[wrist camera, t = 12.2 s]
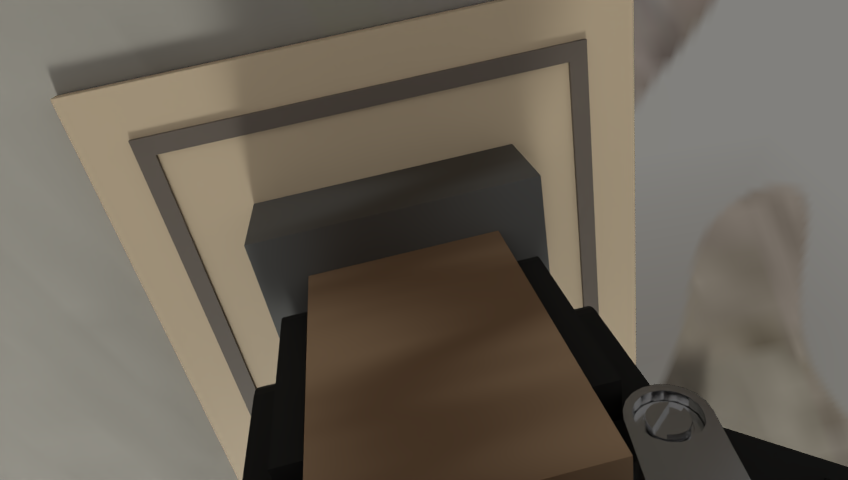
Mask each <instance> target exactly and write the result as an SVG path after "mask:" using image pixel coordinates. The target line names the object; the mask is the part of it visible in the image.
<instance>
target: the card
mask: <svg viewBox="0 0 848 480" xmlns="http://www.w3.org/2000/svg"><path fill="white" fill-rule="evenodd" d="M50 100H51V102H52V104H53V106H54V108H55V110H56V112H57V114H58V116H59V118H60V120H61V122H62V124H63V126H64V128H65V130H66V132H67V134H68V136H69V139H70V141H71V143H72V145H73V147H74V149H75V151H76V153H77V155H78V157H79V159H80V161H81V163H82V165H83V167H84V169H85V171H86V173H87V175H88V177H89V179H90V181H91V183H92V185H93V187H94V189H95V191H96V193H97V195H98V197H99V199H100V201H101V203H102V205H103V207H104V209H105V211H106V213H107V215H108V217H109V219H110V221H111V223H112V225H113V227H114V229H115V231H116V233H117V235H118V237H119V239H120V241H121V243H122V245H123V247H124V250H125V252H126V254H127V256H128V258H129V260H130V262H131V264H132V266H133V268H134V270H135V272H136V274H137V276H138V278H139V280H140V282H141V284H142V286H143V288H144V290H145V292H146V294H147V296H148V298H149V300H150V302H151V304H152V306H153V308H154V310H155V312H156V314H157V316H158V318H159V320H160V322H161V324H162V326H163V328H164V330H165V332H166V334H167V336H168V338H169V340H170V342H171V344H172V346H173V348H174V350H175V352H176V354H177V356H178V359H179V361H180V363H181V365H182V367H183V369H184V371H185V373H186V375H187V377H188V379H189V381H190V383H191V385H192V387H193V389H194V391H195V393H196V395H197V397H198V399H199V401H200V403H201V405H202V407H203V409H204V411H205V413H206V415H207V417H208V419H209V421H210V423H211V425H212V427H213V429H214V431H215V433H216V435H217V437H218V439H219V441H220V443H221V445H222V447H223V449H224V451H225V453H226V455H227V457H228V459H229V461H230V463H231V465H232V467H233V470H234V472H235V474H236V476H237V478H238V480H242V479H243V471H244V464H245V457H246V449H247V442H248V435H249V427H250V420H251V413H252V405H253V398H254V393H255V390H256V389H257V388H258V387H262V386H266V385H270V384H274V383H276V373H277V362H278V352H279V341H280V338H279V336H278V333H277V331H276V328H275V325H274V323H273V320H272V318H271V315H270V312H269V310H268V307H267V304H266V302H265V299H264V297H263V294H262V291H261V289H260V286H259V283H258V281H257V278H256V276H255V273H254V270H253V268H252V265H251V262H250V260H249V257H248V255H247V252H246V249H245V247H244V244H245V239H246V235H247V231H248V226H249V222H250V218H251V214H252V209H253V205H254V204H255V203H260V202H264V201H268V200H272V199H277V198H281V197H285V196H290V195H294V194H298V193H303V192H307V191H311V190H315V189H320V188H324V187H328V186H333V185H337V184H341V183H346V182H350V181H354V180H359V179H363V178H367V177H371V176H376V175H380V174H384V173H389V172H393V171H397V170H402V169H406V168H410V167H415V166H419V165H423V164H427V163H432V162H436V161H440V160H445V159H449V158H453V157H458V156H462V155H466V154H470V153H475V152H479V151H483V150H488V149H492V148H496V147H501V146H505V145H509V144H513V145H514V146H515V148H516V149H517V150H518V151H519V152H520V153H521V154H522V155H523V156H524V158H525V159H526V160H527V161H528V162H529V163H530V164H531V165H532V166H533V167H534V169H535V170H536V171H537V172H538V173H539V174H540V175H541V183H542V194H543V205H544V215H545V226H546V237H547V248H548V258H549V269H550V274H551V275H552V277H553V278H554V280H555V281H556V283H557V284H558V286H559V287H560V289H561V290H562V292H563V293H564V295H565V296H566V298H567V299H568V301H569V302H570V304H571V305H572V307H573V308H574V309H578V308H582V307H586V306H591V307H593V308H594V309H595V310H596V311H597V313H598V314H599V316H600V317H601V318H602V320H603V321H604V322H605V324H606V325H607V327H608V328H609V329H610V331H611V332H612V334H613V335H614V336H615V338H616V339H617V340H618V342H619V343H620V345H621V346H622V347H623V349H624V350H625V351H626V353H627V354H628V356H629V357H630V358H631V360H632V361H633V362H634V364H635V365H636V297H635V296H636V295H635V294H636V293H635V292H636V290H635V151H634V150H635V144H634V0H495V1H490V2H486V3H481V4H477V5H472V6H467V7H463V8H458V9H454V10H449V11H444V12H440V13H435V14H431V15H426V16H421V17H417V18H412V19H408V20H403V21H398V22H394V23H389V24H385V25H380V26H375V27H371V28H366V29H362V30H357V31H352V32H348V33H343V34H339V35H334V36H329V37H325V38H320V39H315V40H311V41H306V42H302V43H297V44H292V45H288V46H283V47H279V48H274V49H269V50H265V51H260V52H256V53H251V54H246V55H242V56H237V57H233V58H228V59H223V60H219V61H214V62H210V63H205V64H200V65H196V66H191V67H187V68H182V69H177V70H173V71H168V72H164V73H159V74H154V75H150V76H145V77H141V78H136V79H131V80H127V81H122V82H118V83H113V84H108V85H104V86H99V87H95V88H90V89H85V90H81V91H76V92H72V93H67V94H62V95H58V96H55V97H54V98H52V99H50Z"/></svg>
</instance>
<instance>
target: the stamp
mask: <svg viewBox="0 0 848 480" xmlns="http://www.w3.org/2000/svg"><path fill="white" fill-rule="evenodd" d="M244 247H245V249H246V252H247V255H248V257H249V260H250V262H251V265H252V268H253V270H254V273H255V276H256V278H257V281H258V283H259V286H260V289H261V291H262V294H263V297H264V299H265V302H266V304H267V307H268V310H269V312H270V315H271V318H272V320H273V323H274V325H275V328H276V331H277V333H278V336H279V338H280V330H281V320H282V318H283V317H287V316H291V315H295V314H299V313H304V312H308V315H307V351H306V387H305V423H304V459H303V480H633V455H632V453H631V452H630V450H629V448H628V447H627V445H626V443H625V442H624V440H623V438H622V437H621V435H620V433H619V431H618V430H617V428H616V426H615V425H614V423H613V421H612V420H611V418H610V416H609V415H608V413H607V411H606V410H605V408H604V406H603V405H602V403H601V401H600V400H599V398H598V396H597V395H596V393H595V391H594V390H593V388H592V386H591V385H590V383H589V381H588V380H587V378H586V376H585V375H584V373H583V371H582V370H581V368H580V366H579V365H578V363H577V361H576V360H575V358H574V356H573V355H572V353H571V351H570V349H569V348H568V346H567V344H566V343H565V341H564V339H563V338H562V336H561V334H560V333H559V331H558V329H557V328H556V326H555V324H554V323H553V321H552V319H551V318H550V316H549V314H548V313H547V311H546V309H545V308H544V306H543V304H542V303H541V301H540V299H539V298H538V296H537V294H536V293H535V291H534V289H533V288H532V286H531V284H530V283H529V281H528V279H527V278H526V276H525V274H524V273H523V271H522V269H521V267H520V266H519V264H518V262H517V261H519V260H523V259H527V258H531V257H536V256H538V257H539V258H540V259H541V261H542V262H543V264H544V265H545V267H546V268H547V269H548V271H549V272H550V269H549V258H548V248H547V237H546V226H545V215H544V205H543V194H542V183H541V175H540V174H539V173H538V172H537V171H536V170H535V169H534V167H533V166H532V165H531V164H530V163H529V162H528V161H527V160H526V159H525V158H524V156H523V155H522V154H521V153H520V152H519V151H518V150H517V149H516V148H515V146H514V145H513V144H509V145H505V146H501V147H496V148H492V149H488V150H483V151H479V152H475V153H470V154H466V155H462V156H458V157H453V158H449V159H445V160H440V161H436V162H432V163H427V164H423V165H419V166H415V167H410V168H406V169H402V170H397V171H393V172H389V173H384V174H380V175H376V176H371V177H367V178H363V179H359V180H354V181H350V182H346V183H341V184H337V185H333V186H328V187H324V188H320V189H315V190H311V191H307V192H303V193H298V194H294V195H290V196H285V197H281V198H277V199H272V200H268V201H264V202H260V203H255V204H254V205H253V209H252V214H251V218H250V222H249V226H248V231H247V235H246V239H245V244H244Z"/></svg>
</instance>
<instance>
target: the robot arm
mask: <svg viewBox="0 0 848 480" xmlns="http://www.w3.org/2000/svg"><path fill="white" fill-rule="evenodd" d="M517 262H518V264H519V266H520V267H521V269H522V271H523V273H524V274H525V276H526V278H527V279H528V281H529V283H530V284H531V286H532V288H533V289H534V291H535V293H536V294H537V296H538V298H539V299H540V301H541V303H542V304H543V306H544V308H545V309H546V311H547V313H548V314H549V316H550V318H551V319H552V321H553V323H554V324H555V326H556V328H557V329H558V331H559V333H560V334H561V336H562V338H563V339H564V341H565V343H566V344H567V346H568V348H569V349H570V351H571V353H572V355H573V356H574V358H575V360H576V361H577V363H578V365H579V366H580V368H581V370H582V371H583V373H584V375H585V376H586V378H587V380H588V381H589V383H590V385H591V386H592V388H593V390H594V391H595V393H596V395H597V396H598V398H599V400H600V401H601V403H602V405H603V406H604V408H605V410H606V411H607V413H608V415H609V416H610V418H611V420H612V421H613V423H614V425H615V426H616V428H617V430H618V431H619V433H620V435H621V437H622V438H623V440H624V442H625V443H626V445H627V447H628V448H629V450H630V452H631V453H632V455H633V480H848V467H846V466H843V465H840V464H837V463H833V462H830V461H827V460H824V459H821V458H818V457H814V456H811V455H808V454H805V453H802V452H799V451H796V450H792V449H789V448H786V447H783V446H780V445H777V444H773V443H770V442H767V441H764V440H761V439H758V438H755V437H751V436H748V435H745V434H742V433H739V432H736V431H732V430H729V429H726V428H723V427H722V425H721V424H720V422H719V420H718V418H717V416H716V414H715V412H714V411H713V409H712V408H711V407H710V405H709V404H708V403H707V401H706V400H704V399H703V398H702V397H700V396H699V395H697V394H696V393H695V392H692V391H690V390H688V389H685V388H683V387H679V386H674V385H669V384H655V385H649V383H648V382H647V380H646V379H645V378H644V376H643V375H642V374H641V372H640V371H639V369H638V368H637V367H636V365H635V364H634V362H633V361H632V360H631V358H630V357H629V356H628V354H627V353H626V351H625V350H624V349H623V347H622V346H621V345H620V343H619V342H618V340H617V339H616V338H615V336H614V335H613V334H612V332H611V331H610V329H609V328H608V327H607V325H606V324H605V322H604V321H603V320H602V318H601V317H600V316H599V314H598V313H597V311H596V310H595V309H594V308H593V307H591V306H586V307H582V308H578V309H574V308H573V307H572V305H571V304H570V302H569V301H568V299H567V298H566V296H565V295H564V293H563V292H562V290H561V289H560V287H559V286H558V284H557V283H556V281H555V280H554V278H553V277H552V275H551V274H550V272H549V271H548V269H547V268H546V267H545V265H544V264H543V262H542V261H541V259H540V258H539V257H538V256H536V257H531V258H527V259H523V260H519V261H517ZM307 315H308V312H304V313H299V314H295V315H291V316H287V317H283V318H282V320H281V330H280V341H279V352H278V362H277V373H276V383H274V384H270V385H266V386H262V387H258V388H257V389H256V390H255V393H254V398H253V405H252V413H251V420H250V427H249V435H248V442H247V449H246V457H245V464H244V471H243V479H242V480H303V459H304V423H305V387H306V351H307Z"/></svg>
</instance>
